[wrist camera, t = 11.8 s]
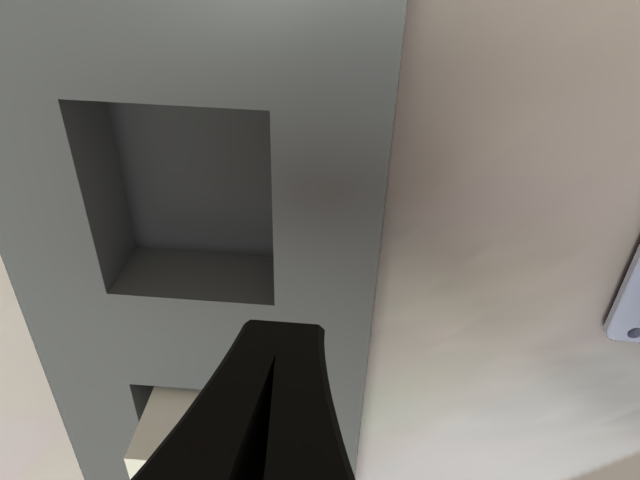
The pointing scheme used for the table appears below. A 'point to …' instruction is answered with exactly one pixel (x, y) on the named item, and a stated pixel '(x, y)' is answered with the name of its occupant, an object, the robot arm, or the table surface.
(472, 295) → the table surface
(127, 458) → the plug
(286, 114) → the socket board
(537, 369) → the table surface
